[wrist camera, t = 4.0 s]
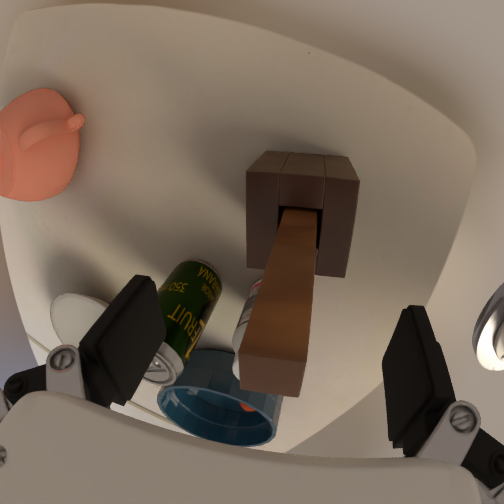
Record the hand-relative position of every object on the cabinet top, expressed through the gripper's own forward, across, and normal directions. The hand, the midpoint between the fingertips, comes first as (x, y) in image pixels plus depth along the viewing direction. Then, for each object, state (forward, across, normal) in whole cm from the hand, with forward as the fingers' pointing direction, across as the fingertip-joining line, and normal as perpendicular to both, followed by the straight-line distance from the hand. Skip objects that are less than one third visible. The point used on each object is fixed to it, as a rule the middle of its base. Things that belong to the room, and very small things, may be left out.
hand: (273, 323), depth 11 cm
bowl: (+16, +8, +28) cm, 33 cm away
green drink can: (+16, +10, +10) cm, 21 cm away
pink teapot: (+16, +26, -6) cm, 31 cm away
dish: (+16, +25, +19) cm, 35 cm away
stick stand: (+16, 0, 0) cm, 16 cm away
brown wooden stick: (+16, 0, 0) cm, 16 cm away
